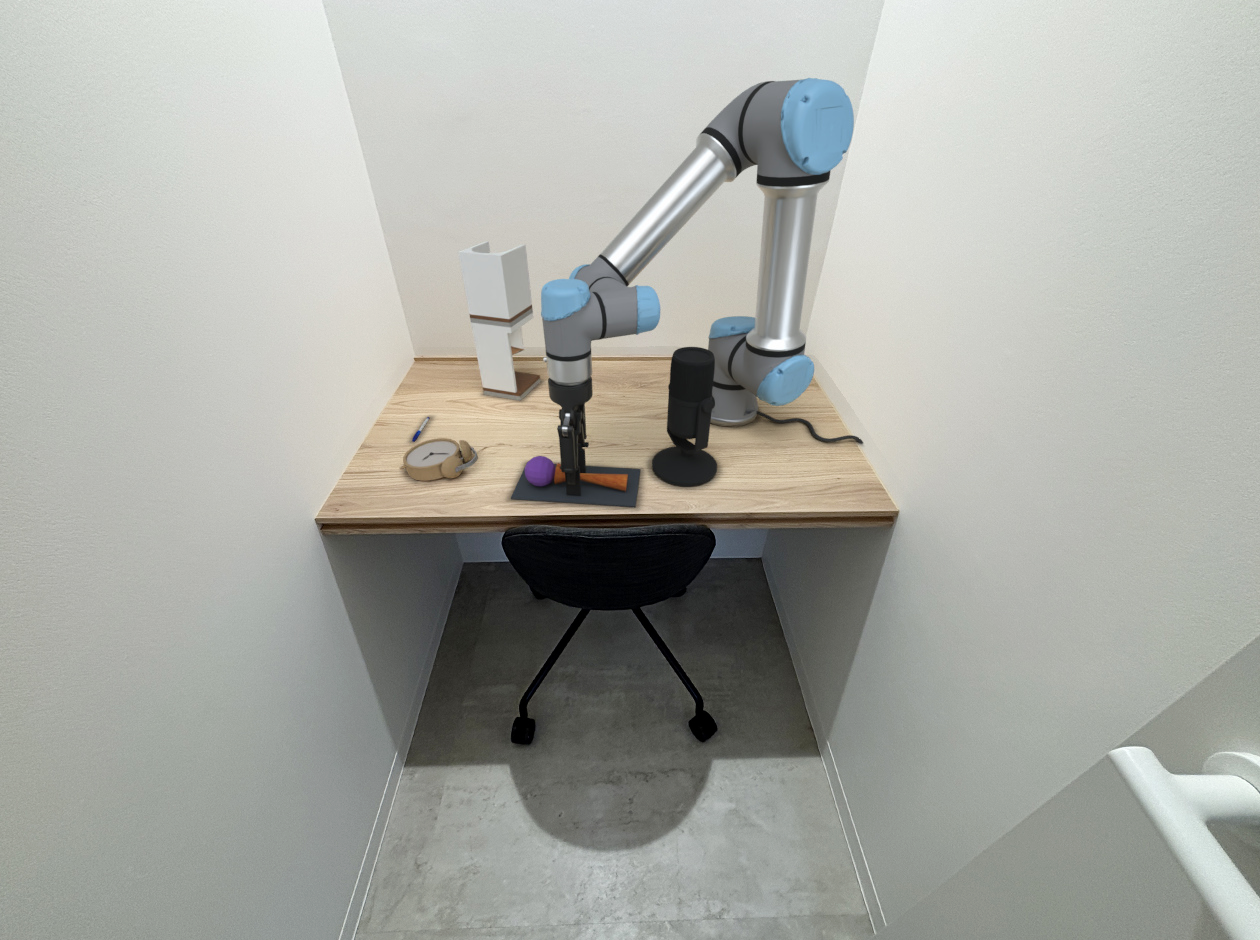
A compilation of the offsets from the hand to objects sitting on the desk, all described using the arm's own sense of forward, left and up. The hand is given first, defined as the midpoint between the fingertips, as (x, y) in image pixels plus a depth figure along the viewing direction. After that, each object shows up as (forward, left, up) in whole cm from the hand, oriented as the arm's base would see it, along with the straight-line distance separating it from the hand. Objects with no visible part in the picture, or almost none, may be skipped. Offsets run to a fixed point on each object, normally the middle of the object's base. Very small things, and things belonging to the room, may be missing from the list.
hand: (576, 484), depth 99 cm
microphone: (-21, -9, -1) cm, 23 cm away
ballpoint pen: (+40, -18, -1) cm, 44 cm away
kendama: (0, 0, 0) cm, 0 cm away
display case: (+25, -41, -1) cm, 48 cm away
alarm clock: (+29, -4, -1) cm, 29 cm away
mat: (0, -1, -1) cm, 1 cm away
